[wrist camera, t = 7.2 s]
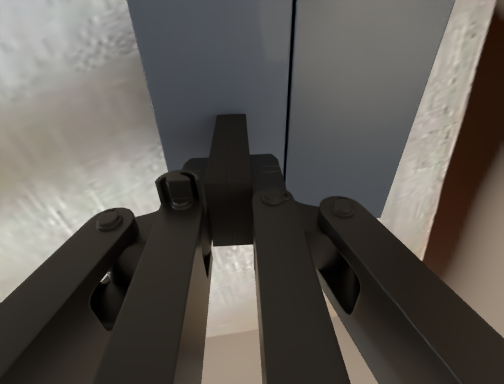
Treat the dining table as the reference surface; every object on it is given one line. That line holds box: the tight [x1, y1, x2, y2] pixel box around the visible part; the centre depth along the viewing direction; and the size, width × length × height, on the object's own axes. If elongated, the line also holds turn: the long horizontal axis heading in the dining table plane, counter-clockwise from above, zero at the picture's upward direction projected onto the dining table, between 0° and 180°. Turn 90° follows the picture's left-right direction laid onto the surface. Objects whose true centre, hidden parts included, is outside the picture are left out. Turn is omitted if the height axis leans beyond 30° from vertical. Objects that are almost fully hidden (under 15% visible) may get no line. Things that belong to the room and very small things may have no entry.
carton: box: [283, 0, 455, 218], centre depth 19 cm, size 14×13×11 cm
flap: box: [127, 0, 293, 175], centre depth 14 cm, size 7×13×1 cm, turn 1°
